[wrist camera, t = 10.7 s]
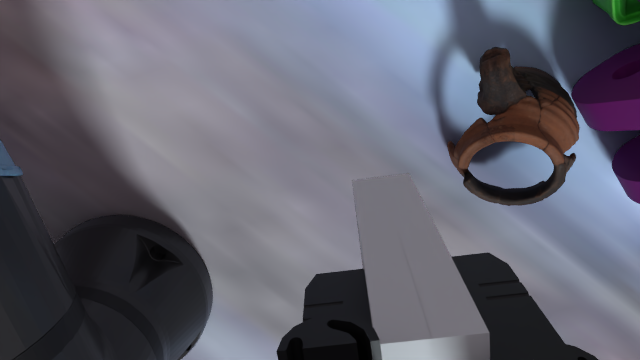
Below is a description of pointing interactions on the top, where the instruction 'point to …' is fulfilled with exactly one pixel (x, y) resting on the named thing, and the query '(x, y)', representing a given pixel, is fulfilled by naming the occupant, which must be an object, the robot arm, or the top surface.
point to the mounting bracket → (615, 110)
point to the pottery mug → (518, 125)
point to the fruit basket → (621, 10)
